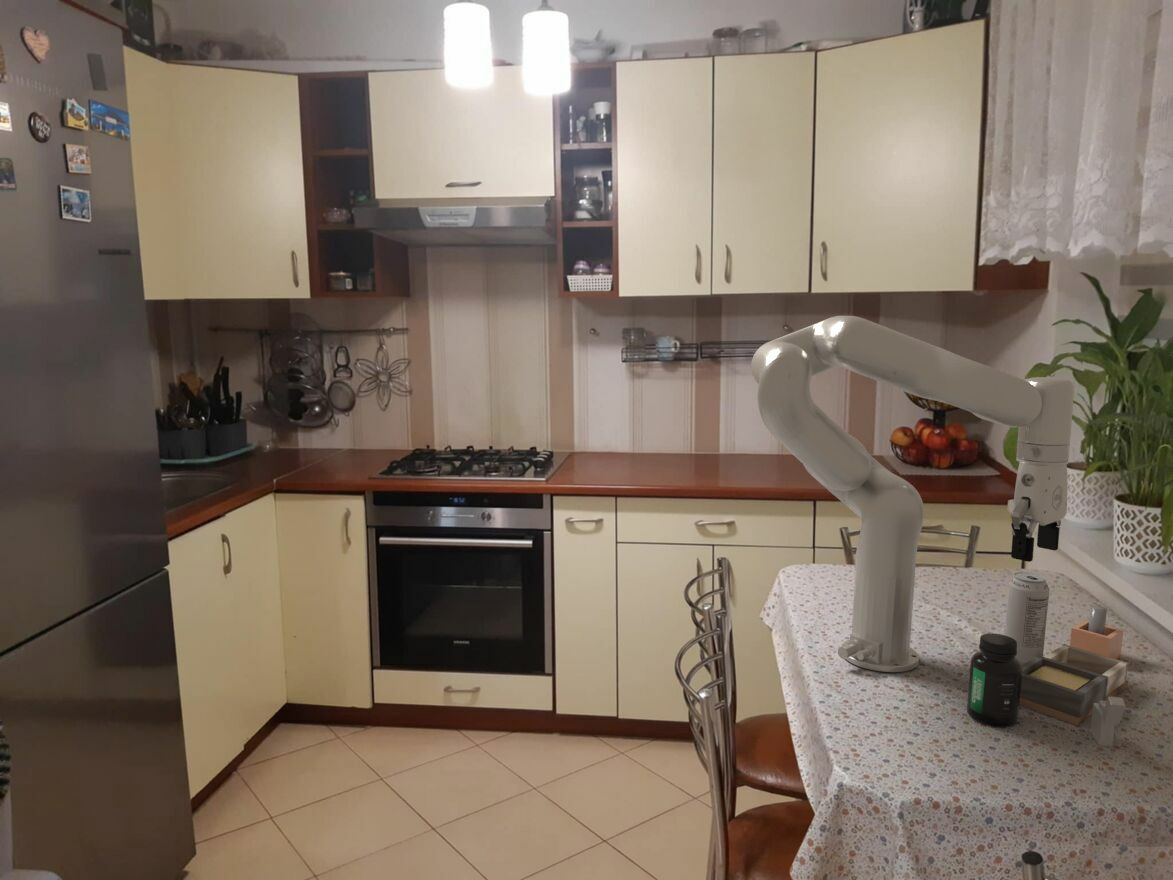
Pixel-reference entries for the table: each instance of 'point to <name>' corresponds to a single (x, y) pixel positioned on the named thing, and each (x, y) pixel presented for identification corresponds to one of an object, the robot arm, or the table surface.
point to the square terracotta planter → (1097, 635)
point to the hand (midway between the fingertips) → (1034, 554)
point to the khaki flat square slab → (1060, 677)
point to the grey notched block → (1106, 719)
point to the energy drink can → (1027, 614)
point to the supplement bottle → (995, 681)
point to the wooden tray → (1065, 701)
